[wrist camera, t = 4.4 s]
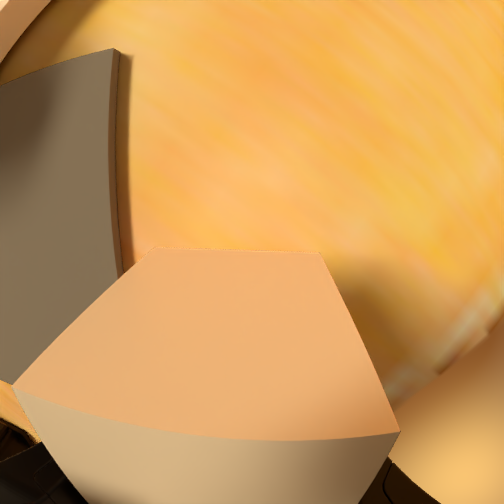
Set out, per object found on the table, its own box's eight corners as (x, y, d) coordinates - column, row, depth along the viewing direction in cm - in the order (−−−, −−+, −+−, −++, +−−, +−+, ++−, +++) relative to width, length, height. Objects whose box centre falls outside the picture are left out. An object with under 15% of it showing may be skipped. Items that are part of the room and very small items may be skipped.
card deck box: (293, 443, 11) (298, 575, 5) (181, 436, 11) (147, 560, 5) (319, 252, 8) (400, 430, 2) (154, 246, 8) (10, 386, 3)
